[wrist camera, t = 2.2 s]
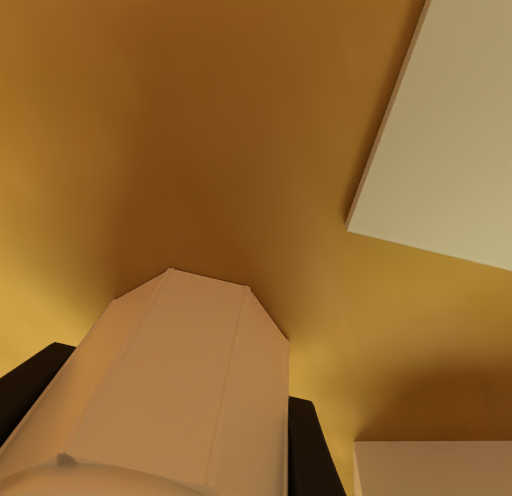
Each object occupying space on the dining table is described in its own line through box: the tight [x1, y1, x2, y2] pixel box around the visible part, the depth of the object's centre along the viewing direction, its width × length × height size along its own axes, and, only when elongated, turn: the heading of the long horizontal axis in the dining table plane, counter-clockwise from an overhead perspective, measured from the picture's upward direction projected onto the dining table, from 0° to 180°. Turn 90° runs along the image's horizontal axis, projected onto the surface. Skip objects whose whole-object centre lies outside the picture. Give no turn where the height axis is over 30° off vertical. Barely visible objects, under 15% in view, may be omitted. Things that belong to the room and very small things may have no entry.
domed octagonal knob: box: [0, 268, 289, 496], centre depth 9 cm, size 5×5×6 cm
